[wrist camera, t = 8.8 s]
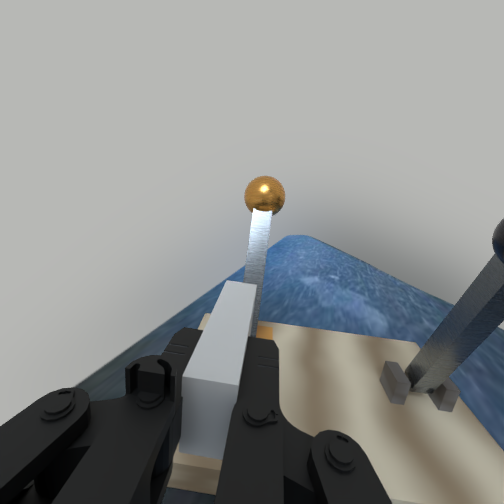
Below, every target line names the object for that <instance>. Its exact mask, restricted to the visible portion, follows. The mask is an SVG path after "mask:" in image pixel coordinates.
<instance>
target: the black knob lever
mask: <svg viewBox="0 0 504 504" xmlns="http://www.w3.org/2000/svg"><path fill="white" fill-rule="evenodd" d="M492 244H493V249H494V252H495V254H494V256H493V257H492V258H491V260H490V261H489V262H488V263H487V265H486V266H485V267H484V269H483V270H482V271H481V272H480V274H479V275H478V276H477V278H476V279H475V280H474V282H473V283H472V284H471V285H470V287H469V288H468V289H467V290H466V292H465V293H464V294H463V296H462V297H461V298H460V299H459V301H458V302H457V303H456V305H455V306H454V307H453V308H452V310H451V311H450V312H449V314H448V315H447V316H446V318H445V319H444V320H443V321H442V323H441V324H440V325H439V327H438V328H437V329H436V330H435V332H434V333H433V334H432V336H431V337H430V338H429V339H428V341H427V342H426V343H425V345H424V346H423V347H422V348H421V350H420V351H419V352H418V354H417V355H416V356H415V358H414V359H413V360H412V361H411V363H410V364H409V365H408V367H407V368H406V369H405V372H404V373H405V375H406V376H407V378H408V380H409V381H410V383H411V386H410V389H409V391H411V392H417V393H424V394H432V393H433V392H434V391H435V390H436V389H437V388H438V387H439V386H440V385H441V384H442V383H443V382H444V381H445V380H446V379H447V378H448V377H449V376H450V375H451V374H452V373H453V372H454V371H455V370H456V368H457V367H458V366H459V365H460V364H461V363H462V362H463V361H464V360H465V359H466V358H467V357H468V356H469V355H470V354H471V353H472V352H473V351H474V350H475V349H476V348H477V347H478V346H479V345H480V344H481V343H482V342H483V341H484V340H485V339H486V338H487V337H488V336H489V335H490V334H491V333H492V332H493V331H494V330H495V329H496V328H497V327H498V325H500V324H501V323H502V322H503V321H504V219H502V221H501V222H500V223H499V224H498V225H497V227H496V229H495V231H494V234H493V238H492Z"/></svg>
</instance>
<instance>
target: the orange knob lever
mask: <svg viewBox="0 0 504 504" xmlns="http://www.w3.org/2000/svg"><path fill="white" fill-rule="evenodd" d="M284 202H285V191H284V188H283V187H282V185H281V183H280V182H279V181H278V180H276V179H275V178H273V177H269V176H260V177H257V178H255V179H254V180H252V181H251V182H250V183H249V185H248V186H247V188H246V190H245V203H246V206H247V207H248V209H249V210H250V211H251V212H252V213H253V216H252V223H251V230H250V237H249V244H248V252H247V259H246V266H245V273H244V280H243V283H248V284H255V285H257V288H256V296H255V304H254V311H253V319H252V327H251V334H250V337H256V333H257V325H258V317H259V309H260V302H261V294H262V286H263V278H264V271H265V263H266V255H267V246H268V239H269V232H270V223H271V216H273V215H275V214H276V213H278V212H279V211H280V209H281V208H282V207H283V205H284Z"/></svg>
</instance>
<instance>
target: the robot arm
mask: <svg viewBox="0 0 504 504" xmlns="http://www.w3.org/2000/svg"><path fill="white" fill-rule="evenodd" d="M256 288H257V285H255V284H248V283H241V282H234V281H226V283H225V285H224V287H223V290H222V292H221V294H220V296H219V298H218V300H217V303H216V305H215V307H214V309H213V311H212V313H211V315H210V318H209V320H208V322H207V324H206V326H205V328H204V330H198V329H192V328H185V327H184V328H183V329H181V330H180V331H178V332H177V333H175V334H174V336H173V337H172V339H171V340H170V342H169V345H167V347H166V348H165V350H164V352H163V353H162V355H150V356H145V357H141V358H139V359H137V360H135V361H133V362H131V363H130V364H129V365H128V366H127V367H126V368H125V378H126V394H125V396H123V397H121V398H116V399H111V400H101V401H92V402H90V399H89V395H88V393H87V392H85V391H84V390H83V389H79V388H74V387H73V388H62V389H60V390H57V391H53V392H50V393H49V394H47V395H45V396H43V397H41V398H40V399H38V400H37V401H35V402H34V403H33V404H31V405H30V406H28V407H27V408H26V409H24V410H23V411H21V412H20V413H18V414H17V415H16V416H14V417H13V418H12V419H10V420H9V421H7V422H6V423H5V424H3V425H2V426H0V504H161V502H162V500H163V497H164V494H165V491H166V488H167V485H168V482H169V479H170V477H171V474H172V468H173V456H174V454H175V451H176V448H177V445H178V443H179V452H181V453H186V454H192V455H197V456H203V457H209V458H214V459H220V460H222V465H221V470H220V475H219V480H218V486H217V491H216V496H215V501H214V504H392V502H391V500H390V498H389V496H388V494H387V492H386V490H385V489H384V487H383V485H382V483H381V481H380V479H379V477H378V475H377V474H376V472H375V470H374V468H373V466H372V464H371V462H370V460H369V459H368V457H367V455H366V453H365V452H364V450H363V449H362V448H361V446H360V445H359V444H358V443H357V442H356V441H355V440H353V439H352V438H351V437H350V436H348V435H346V434H344V433H342V432H340V431H335V430H325V431H321V432H319V433H318V434H317V435H316V436H315V437H313V436H311V435H309V434H307V433H305V432H303V431H301V430H299V429H298V428H296V427H294V426H293V425H292V424H291V423H290V422H289V421H287V419H286V418H285V416H284V415H283V413H282V411H281V409H280V403H279V348H278V347H277V345H276V343H275V341H274V340H269V339H263V338H256V337H250V334H251V327H252V319H253V311H254V304H255V296H256Z"/></svg>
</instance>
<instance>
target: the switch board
mask: <svg viewBox="0 0 504 504" xmlns="http://www.w3.org/2000/svg"><path fill="white" fill-rule="evenodd" d="M210 315H211V314H209V313H205V315H204V317H203V319H202V321H201V324H200V326H199V328H198V330H204V328H205V326H206V324H207V322H208V320H209V318H210ZM256 338H263V339H269V340H274V341H275V343H276V345H277V347H278V348H279V403H280V409H281V411H282V413H283V415H284V416H285V418H286V419H287V421H289V422H290V423H291V424H292V425H293V426H294V427H296V428H298V429H299V430H301V431H303V432H305V433H307V434H309V435H311V436H313V437H315V436H316V435H317V434H318V433H319V432H321V431H325V430H335V431H340V432H342V433H344V434H346V435H348V436H350V437H351V438H352V439H353V440H355V441H356V442H357V443H358V444H359V445H360V446H361V448H362V449H363V450H364V452H365V453H366V455H367V457H368V459H369V460H370V462H371V464H372V466H373V468H374V470H375V472H376V474H377V475H378V477H379V479H380V481H381V483H382V485H383V487H384V489H385V490H386V492H387V494H388V496H389V498H390V500H391V502H392V504H504V451H503V450H502V449H501V447H500V446H499V445H498V444H497V443H496V441H495V440H494V439H493V438H492V436H491V435H490V434H489V433H488V431H487V430H486V429H485V428H484V426H483V425H482V424H481V423H480V422H479V420H478V419H477V418H476V417H475V415H474V414H473V413H472V412H471V410H470V409H469V408H468V407H467V406H466V404H465V403H464V402H463V401H462V399H461V398H460V397H459V394H460V392H461V391H460V390H459V389H458V387H457V386H456V385H455V384H454V383H453V381H452V380H451V379H450V378H449V377H448V378H447V379H446V380H445V381H444V382H443V383H442V384H441V385H440V386H439V387H438V388H437V389H436V390H435V391H434V392H433V393H432V394H424V393H417V392H411V391H409V389H410V386H411V383H410V381H409V380H408V378H407V376H406V375H405V373H404V372H405V369H406V368H407V367H408V365H409V364H410V363H411V361H412V360H413V359H414V358H415V356H416V355H417V354H418V352H419V351H420V350H421V349H420V348H419V346H418V345H417V344H416V343H415V342H408V341H401V340H393V339H386V338H379V337H372V336H365V335H358V334H351V333H344V332H337V331H329V330H322V329H315V328H308V327H301V326H294V325H287V324H280V323H273V322H266V321H258V325H257V333H256ZM221 465H222V460H220V459H214V458H209V457H203V456H197V455H192V454H186V453H181V452H179V443H178V445H177V448H176V451H175V454H174V456H173V468H172V474H171V477H170V479H169V482H168V485H167V487H171V488H177V489H183V490H189V491H195V492H201V493H207V494H213V495H216V491H217V486H218V480H219V475H220V470H221Z"/></svg>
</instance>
